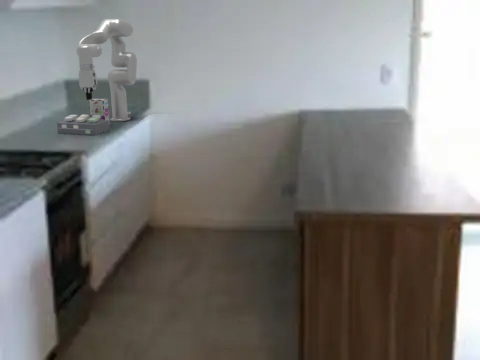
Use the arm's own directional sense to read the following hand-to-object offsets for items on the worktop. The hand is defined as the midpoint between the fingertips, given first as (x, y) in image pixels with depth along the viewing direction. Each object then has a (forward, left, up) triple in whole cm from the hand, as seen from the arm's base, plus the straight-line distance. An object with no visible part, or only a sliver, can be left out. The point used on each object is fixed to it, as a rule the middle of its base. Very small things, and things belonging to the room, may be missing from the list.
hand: (89, 99), depth 404 cm
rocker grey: (+2, -12, -11) cm, 17 cm away
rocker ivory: (+2, -4, -11) cm, 12 cm away
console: (+2, -4, -19) cm, 19 cm away
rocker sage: (+2, +4, -11) cm, 12 cm away
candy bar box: (-17, -5, -19) cm, 26 cm away
